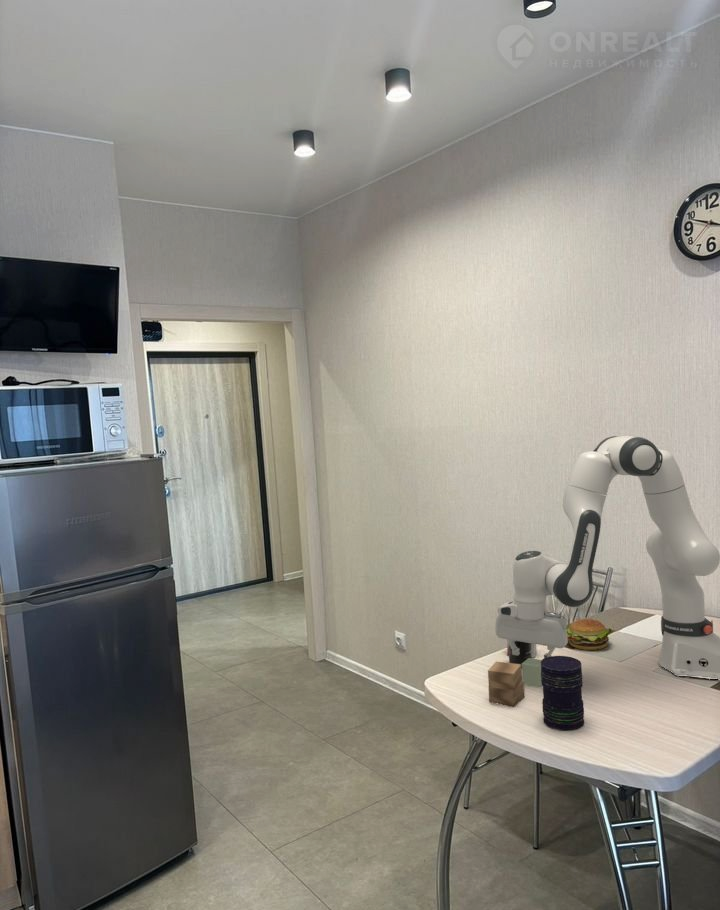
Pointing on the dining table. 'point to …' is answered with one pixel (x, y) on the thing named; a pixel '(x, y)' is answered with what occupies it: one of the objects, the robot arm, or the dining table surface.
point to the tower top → (505, 675)
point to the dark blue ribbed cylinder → (562, 693)
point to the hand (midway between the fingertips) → (531, 657)
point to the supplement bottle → (523, 655)
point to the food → (588, 634)
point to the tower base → (507, 695)
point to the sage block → (532, 672)
